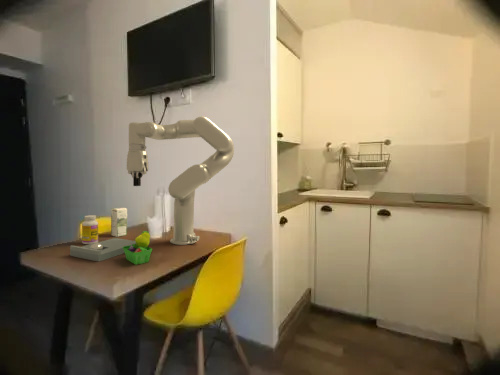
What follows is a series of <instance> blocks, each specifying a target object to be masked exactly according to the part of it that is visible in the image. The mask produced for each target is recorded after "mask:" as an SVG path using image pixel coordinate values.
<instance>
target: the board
mask: <svg viewBox="0 0 500 375" xmlns="http://www.w3.org/2000/svg"><path fill="white" fill-rule="evenodd" d="M97 243H100V244H101V245H102V246H103V250H94V249H90V247H91V245H93V244H85V245H82V246H77V245H70V246H69V247H70V248H69V249H70V250H69V252H70V254H69V255H70V257H76V258H78V259H79V258H80V259H83V260H84V259H85V260H89V261H94V262H102V261H106V260H108V259H111V258H114V257H116V256H119V255H123V254H125V252H124V250H123V247H124V246H129V245H132V244H136V241H135V240H130V239H124V238H119V237H113V238H109V239H105V240H102V241H98V242H97Z"/></svg>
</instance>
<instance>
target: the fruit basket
mask: <svg viewBox="0 0 500 375" xmlns="http://www.w3.org/2000/svg"><path fill="white" fill-rule="evenodd" d="M150 239H151V235H150V232H149V231H147V230H144V231H142V232H141V233H140V235H138V236H137V237H135V239H134V241H136V244H132V245H129V246H124V247H123V250H124V252H125V253H124V255H125V259H126V260H127V261H129V262H130V263H132V264H134V265H135V266H137V265H142V264H146V263H149V262H150V261H149V260H150V258H151V253H152V251H153V248H151V247H149V245H150V241H151V240H150Z"/></svg>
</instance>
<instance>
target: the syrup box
mask: <svg viewBox="0 0 500 375" xmlns="http://www.w3.org/2000/svg"><path fill="white" fill-rule="evenodd" d="M110 212H111V214H110V216H111V218H110V220H111V223H110V224H111V226H110V229H111V231H110V233H111V234H110V235H111V236H113V237H114V238H119V237H125V236H127V235H128V208H126V207H116V208H111V211H110Z"/></svg>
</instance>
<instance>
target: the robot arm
mask: <svg viewBox="0 0 500 375" xmlns="http://www.w3.org/2000/svg"><path fill="white" fill-rule="evenodd" d="M146 138H149V139H152V140H156V141H157V140H158V141H163V140H175V139H176V140H178V139H190V138H191V139H192V138H193V139H194V138H201V139H203V141H205V142H207V143H208V144H209V145H210V146H211V147H212V148H213V149H214V150H216V151H215V152H214V153H213V154H212V155H210V156H209V157H207V158H206V159H205V160H204V161H203V162H201V163H199V164H193V165H191V166H190V167H188V168H187V169H186V170H184V171H182V173H180V174H179V175H178V176H176V177H175V178H173V180H171V182H170V183H169V185H168V193H169V195H170V196H171V197H172V198H173V199H174V202H173V237H171V239H170V243H171V244H173V245H176V246H177V245H179V246H181V245H184V246H187V245H192V244H195V243H197V241H199V240H200V235H196V232H194V221H195V217H194V214H195V213H194V212H195V211H194V210H195V195H196V190H197V189H198V188H199V187H201V186H202V185H204V184H206V183H208V181H210V180H211V179H212V178H213V177H214V176H216V175H217V174H218V173H220V172H221V171H222V170H223V169H224V168H225V167H228V165H229V164H230V163H231V161H232V160H233V158H234V155H235V147H234V142H233V140H232V138H231V137H230V136H229V135H228V134H227V133H226V132H224V131H223V130H222V129H221V128H220V127H218V126H217V125H216V124H215V123H214V122H213V121H212V120H210V118H209V117H206V116H202V115H201V116H197V117H196V118H195V119H180V120H178V121H177V122H175V123H172V124H158V123H155V122H153V121H145V122H138V121H137V122H134V121H133V122H130V123H129V124H128V152H127V155H126V170H127V174H129V175H131V177H132V178H133V180H132V181H133V187H141V186H142V182H141V181H142V180H141V179H142V177H143V175H144V176H145V175H147V172H148V171H149V158H148V152H147V151H146V150H147V146H146Z"/></svg>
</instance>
